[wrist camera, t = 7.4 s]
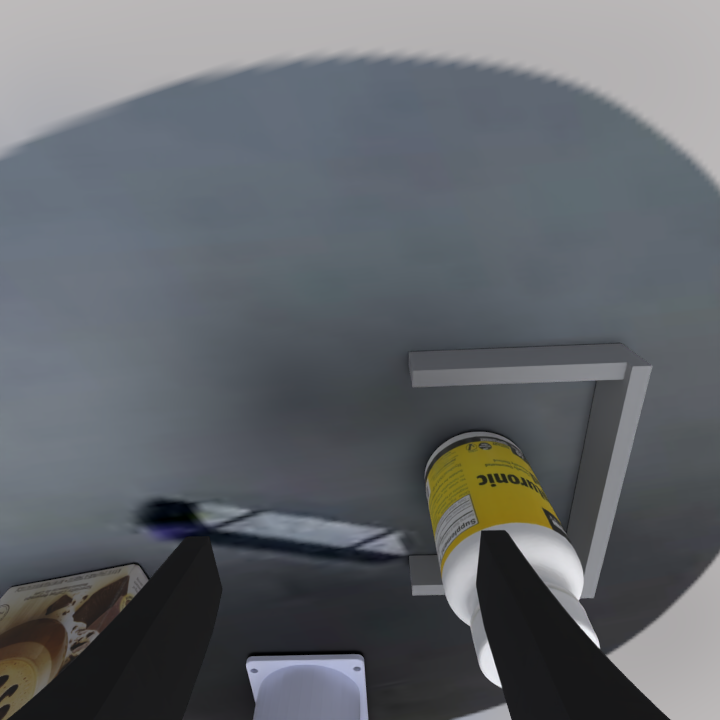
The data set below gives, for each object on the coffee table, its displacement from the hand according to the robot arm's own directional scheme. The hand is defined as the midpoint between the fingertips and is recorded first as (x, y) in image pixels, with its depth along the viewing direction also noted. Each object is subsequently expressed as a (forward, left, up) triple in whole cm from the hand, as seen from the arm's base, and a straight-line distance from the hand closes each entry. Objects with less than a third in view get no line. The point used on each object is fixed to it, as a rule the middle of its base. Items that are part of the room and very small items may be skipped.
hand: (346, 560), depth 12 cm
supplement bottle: (-6, -6, -11) cm, 14 cm away
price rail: (-6, -8, -10) cm, 14 cm away
